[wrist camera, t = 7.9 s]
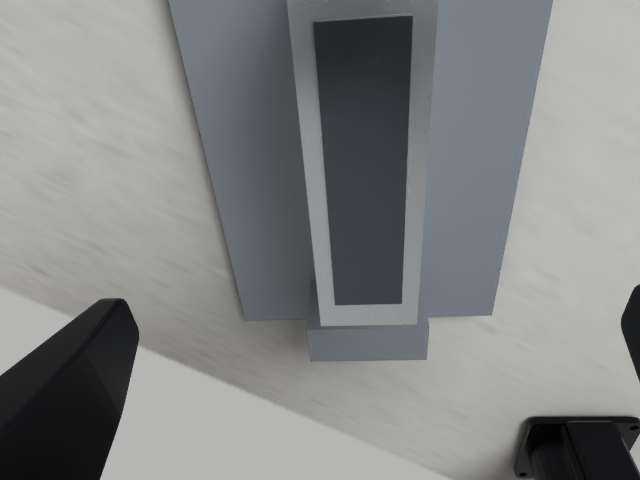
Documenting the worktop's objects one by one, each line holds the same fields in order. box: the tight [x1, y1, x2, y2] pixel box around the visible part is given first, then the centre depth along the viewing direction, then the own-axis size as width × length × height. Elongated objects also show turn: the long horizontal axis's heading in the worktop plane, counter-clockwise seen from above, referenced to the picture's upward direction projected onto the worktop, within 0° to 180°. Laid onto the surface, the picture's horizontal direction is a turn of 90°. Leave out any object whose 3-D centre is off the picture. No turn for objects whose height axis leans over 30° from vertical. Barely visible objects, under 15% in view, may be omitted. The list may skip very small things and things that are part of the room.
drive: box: [287, 0, 438, 326], centre depth 15 cm, size 10×3×6 cm, turn 4°
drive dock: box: [168, 0, 553, 361], centre depth 16 cm, size 22×12×5 cm, turn 4°
